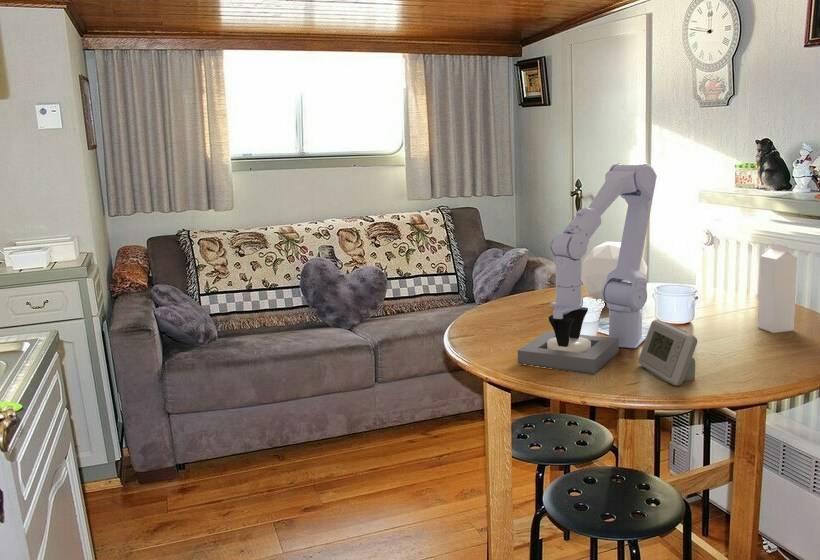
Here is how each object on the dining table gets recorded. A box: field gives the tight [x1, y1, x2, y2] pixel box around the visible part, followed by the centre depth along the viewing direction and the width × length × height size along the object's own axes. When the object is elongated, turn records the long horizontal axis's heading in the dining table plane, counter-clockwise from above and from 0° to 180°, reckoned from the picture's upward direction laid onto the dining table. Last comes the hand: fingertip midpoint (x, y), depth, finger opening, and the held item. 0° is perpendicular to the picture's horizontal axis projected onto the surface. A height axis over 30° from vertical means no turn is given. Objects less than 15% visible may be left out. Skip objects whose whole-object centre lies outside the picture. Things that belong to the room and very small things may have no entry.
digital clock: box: [637, 319, 698, 387], centre depth 154 cm, size 16×9×11 cm, turn 178°
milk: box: [757, 242, 798, 334], centre depth 183 cm, size 6×6×22 cm
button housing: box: [517, 330, 620, 376], centre depth 169 cm, size 18×18×4 cm
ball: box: [581, 241, 648, 305], centre depth 220 cm, size 19×20×20 cm
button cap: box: [547, 337, 591, 353], centre depth 169 cm, size 10×10×3 cm
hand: (568, 342), depth 169 cm, fingers open, 7 cm apart
